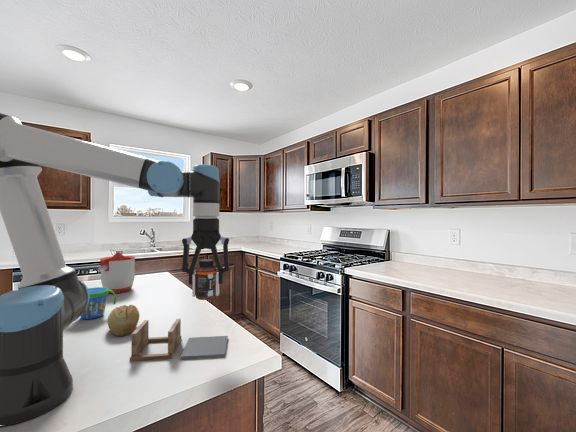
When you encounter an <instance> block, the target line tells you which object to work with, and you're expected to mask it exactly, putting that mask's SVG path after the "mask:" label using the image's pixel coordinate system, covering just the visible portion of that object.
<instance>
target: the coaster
mask: <svg viewBox="0 0 576 432" xmlns="http://www.w3.org/2000/svg"><path fill="white" fill-rule="evenodd" d="M227 344H228V335H219V336H197V337H196V336H194V337H188V339H187V341H186V344H185V346H184V349H183V350H182V352H181V354H180V358H179V359H180V360H192V359H193V360H195V359H210V358H212V359H213V358H225V356H226V350H227Z"/></svg>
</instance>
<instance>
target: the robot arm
mask: <svg viewBox="0 0 576 432" xmlns="http://www.w3.org/2000/svg"><path fill="white" fill-rule="evenodd" d="M42 167H46V168H47V167H48V168H50V169H56V170H60V171H65V172H69V173H72V174H77V175H82V176H85V177H90V178H95V179H98V180H103V181H108V182H111V183H116V184H120V185H125V186H129V187H133V188H136V189H141V190H145V191H147V193H148V195H149V196H150V197H156V198H157V197H158V198H192V216H193V217H194V218H193V219H192V235H191V236H189V237H184V238H182V240H181V242H182V246H183V252H182V263H181V264H182V267H181V271H182V272H183V273H187V274H188V284H189V285H188V286H190V285H191V286H192V289H191V290H192V293H191V294H192V298H193V297H195V298H196V272H195V271H196V268H197V263H198V262H199V259H200V258H199V257H200V254H201V252H202V250H205V249H207V250H210V251H211V253H212V257H213V261H214V263H215V267H216V270H217V271H216V297H218V296H219V295H220V285H222V284H223V282H224V273H225V272H228V271H229V269H230V262H229V260H230V259H229V242H230V238H229V237H224V236H222V235H221V233H220V219H219V218H218V217H220V183H221V181H220V170H219V168H218V167H217V166H216V165H212V164H195V165H193V168H192V171H182V170H181V169H180V167H179V166H178V165H176V164H175V163H173V162H171V161H169V160H157V159H153V158H148V157H145V156H142V155H137V154H134V153H130V152H127V151H123V150H120V149H119V150H118V149H115V148H112V147H108V146H105V145H101V144H97V143H95V142H89V141H85V140H82V139H77V138H74V137H72V136H67V135H63V134H59V133H56V132H52V131H49V130H45V129H41V128H39V127H38V128H36V127H33V126H30V125H26V124H22V122H21V121H20V120H19V118H16V117H14V116H13V115H8V114H5V113H1V112H0V215H1V217H2V221H3V223H4V226H5V228H6V229H5V230H6V231H7V234H8V237H9V241H10V243H11V244H10V245H11V246H12V249H13V252H14V255H15V257H16V259H17V264H18V267H19V269H20V272H21V275H22V279H21V281H20V282H19V283H18V285H17V289H15V290H10V291H8V292H5V293H3V294H1V295H0V425H8V426H12V425H15V424H19V423H23V422H26V421H29V420H31V419H34V418H36V417H39V416H41V415H43V414H45V413H48V412H49V411H51V410H52V409H54V408H56V407H58V406H59V405H60V404H61V403H63V402H64V401H65V400H67V399H68V398H69V397H70V395H71V394H72V392H73V389H74V388H73V387H74V386H73V383H74V381H73V380H74V379H73V375H72V374H71V372H70V369H69V368H68V365H67V362H66V360H65V358H64V331H65V330H66V329H67V328H68V327H69V326H71V325H72V324H73V322H75V321H76V320H77V319H79V317H80V316H81V315H82V313H83V312H84V310H85V308H86V307H87V305H88V302H89V290H88V286H87V285H86V283H85V282H83V281H82V280H80V279H79V278H78V275H77V272H76V269H75V268H73V267H70V266H68V264H67V265H66V262H65V259H64V256H63V252H62V249H61V247H60V244H59V240H58V237H57V234H56V230H55V229H54V225H53V222H52V219H51V216H50V214H49V210H48V207H47V204H46V201H45V198H44V195H43V192H42V188H41V186H40V183H39V180H38V177H39V175H40V174H41V173H42V172H43V168H42ZM219 241H221V243H220V244H221V245H222V246H223V247H222V249H223V250H222V252H223V265H222V262H221V260H220V258H221V257H220V255H219V253H218V249H217V248H218V247H217V244H218V243H219ZM192 242H193V243H194V244H195V246H196V248H195V250H194V254H193V256H192V260H191V263H190V266H189V262H190V261H189V259H190V245H191V244H192ZM80 318H81V317H80Z"/></svg>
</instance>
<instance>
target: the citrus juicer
mask: <svg viewBox="0 0 576 432" xmlns="http://www.w3.org/2000/svg"><path fill="white" fill-rule="evenodd" d="M135 259H136V256H135V255H123V254H122V253H121V252H120V251H117V252H116V253H114V255H112V256H106V257H102V258H100V261H99V262H100V264H99V267H98V268H97V272H100V283H101V285H102V286H101V287H104V288H108V289H109V290H112V291H113V292H114V293H115V295H116V294H119V293H125V292H127V291H130V290H131V289H132V287H133V285H134V281H135V276H136V274H135V273H136V272H135V271H136V267H135V265H136V260H135ZM108 294H113V293H112V292H109V293H108Z"/></svg>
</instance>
